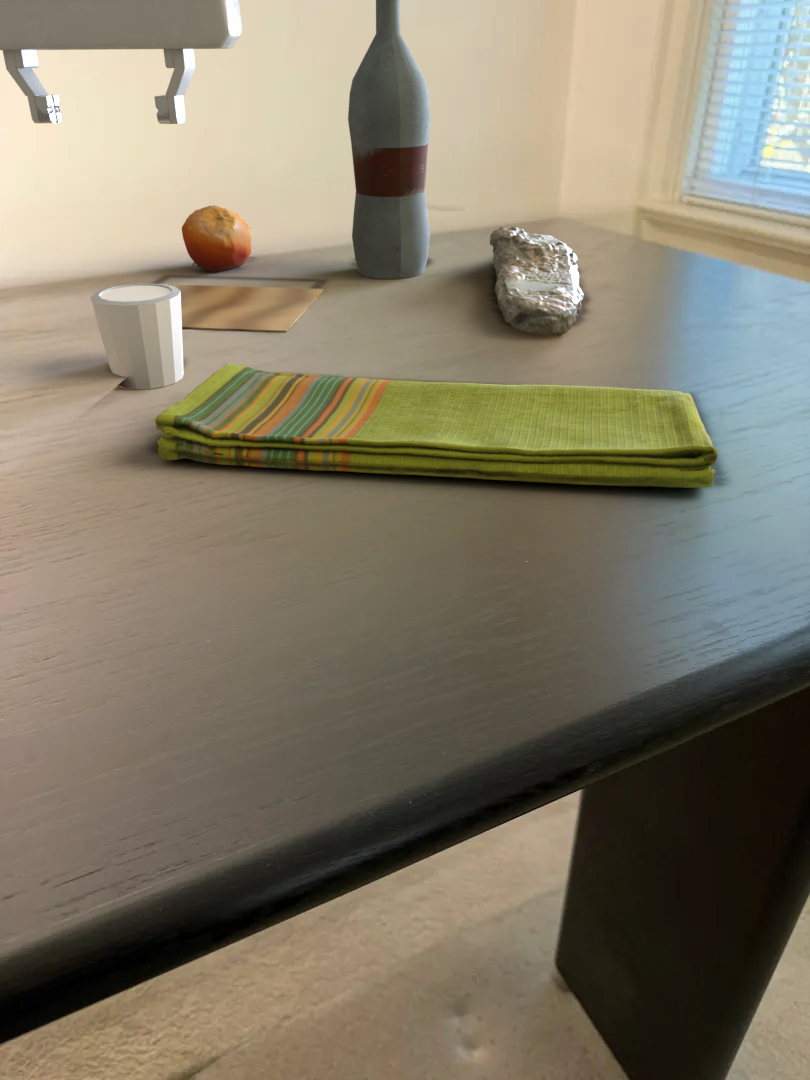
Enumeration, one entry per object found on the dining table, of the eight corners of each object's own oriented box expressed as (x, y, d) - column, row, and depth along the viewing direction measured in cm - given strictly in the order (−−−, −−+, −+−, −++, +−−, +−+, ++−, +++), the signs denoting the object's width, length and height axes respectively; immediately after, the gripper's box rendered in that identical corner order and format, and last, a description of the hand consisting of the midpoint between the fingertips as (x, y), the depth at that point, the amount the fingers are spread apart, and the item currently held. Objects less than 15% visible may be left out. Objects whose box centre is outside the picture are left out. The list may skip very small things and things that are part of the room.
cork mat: (107, 325, 87) (107, 324, 87) (168, 285, 100) (168, 284, 100) (286, 332, 84) (286, 330, 84) (323, 290, 98) (323, 288, 98)
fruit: (223, 243, 113) (234, 190, 107) (253, 285, 111) (267, 233, 104) (165, 252, 109) (173, 197, 103) (195, 296, 106) (205, 243, 100)
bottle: (356, 262, 110) (347, -24, 95) (430, 262, 110) (432, -25, 95) (349, 280, 102) (338, -29, 87) (429, 280, 102) (431, -30, 87)
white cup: (127, 398, 69) (112, 308, 66) (92, 375, 74) (76, 291, 70) (206, 379, 73) (195, 293, 69) (168, 358, 78) (156, 277, 74)
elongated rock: (484, 351, 83) (591, 359, 82) (489, 295, 80) (600, 303, 80) (487, 250, 112) (566, 256, 112) (491, 207, 109) (572, 212, 109)
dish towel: (229, 386, 71) (224, 346, 70) (686, 407, 67) (693, 366, 65) (153, 465, 58) (145, 419, 57) (716, 500, 53) (725, 450, 52)
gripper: (243, -112, 58) (261, 120, 65) (-44, -103, 61) (2, 119, 68) (212, -127, 53) (235, 127, 60) (-102, -117, 56) (-45, 126, 62)
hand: (109, 123), depth 64 cm, fingers open, 8 cm apart
